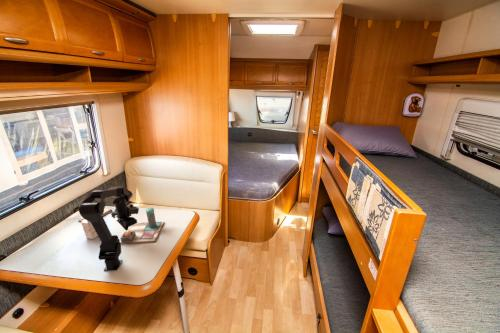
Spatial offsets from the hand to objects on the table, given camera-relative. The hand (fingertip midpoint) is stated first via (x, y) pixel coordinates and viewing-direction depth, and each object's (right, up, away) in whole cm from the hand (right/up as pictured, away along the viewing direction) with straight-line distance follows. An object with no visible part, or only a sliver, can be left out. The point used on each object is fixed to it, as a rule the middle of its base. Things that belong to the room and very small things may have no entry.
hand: (126, 230), depth 133 cm
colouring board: (+6, -4, +9) cm, 12 cm away
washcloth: (-37, +2, +27) cm, 46 cm away
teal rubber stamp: (+10, -1, +14) cm, 17 cm away
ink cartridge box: (-24, -5, +8) cm, 26 cm away
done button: (0, -5, +2) cm, 5 cm away
